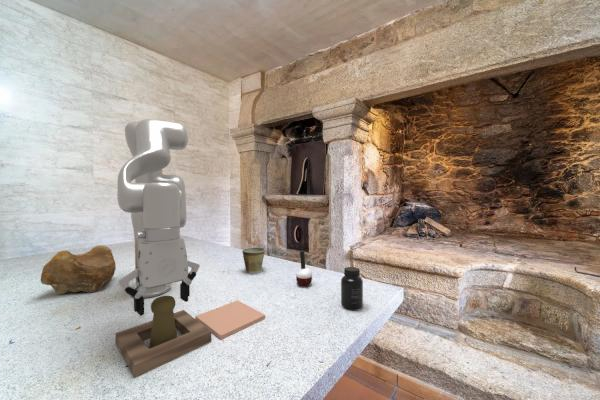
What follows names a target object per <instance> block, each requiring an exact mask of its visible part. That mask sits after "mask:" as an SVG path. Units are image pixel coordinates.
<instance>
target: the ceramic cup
mask: <svg viewBox="0 0 600 400" xmlns="http://www.w3.org/2000/svg"><path fill="white" fill-rule="evenodd" d="M265 253H266V249H265V248H263V247H257V246H256V247H255V246H251V247H246V248H243V249H242V257H243V260H244V261H243V262H244V269H245V272H246V273H247V274H249V275H256V274H259V273H261V272H262V269H263V268H262V267H263V262H264V257H265Z"/></svg>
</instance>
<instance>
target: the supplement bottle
mask: <svg viewBox="0 0 600 400" xmlns="http://www.w3.org/2000/svg"><path fill="white" fill-rule="evenodd" d="M343 269H344V271H343V275H344V276H342V277H341V279H340V280H341V281H340V287H341V288H340V304H341V307H343V309H345V310H349V311H359V310H361V309H362V308H363V305H364V304H363V303H364V299H363V297H364V293H363V291H364V289H363V288H364V284H363V283H364V281H363V279H362V277H361V275H360V268H359V267H354V266H348V267H347V266H346V267H345V268H343Z"/></svg>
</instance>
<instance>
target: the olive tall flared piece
mask: <svg viewBox="0 0 600 400" xmlns="http://www.w3.org/2000/svg"><path fill="white" fill-rule="evenodd" d="M175 307H176V299H175V297H174V296H172V295H160V296H158V297H156V298H154V299H153V300H152V302H151V303H150V310H151V313H153V315H152V320H153V322H152V330H151V337H150V338H149V347H148V348H149V349H150V348H153V347H155V346H158V345H160V344H162V343H165V342H167V341H170V340H172V339H175V338H177V337H178V332H177V328H176V325H175V319H174V313H175V312H174V309H175Z"/></svg>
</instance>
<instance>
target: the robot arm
mask: <svg viewBox="0 0 600 400" xmlns="http://www.w3.org/2000/svg"><path fill="white" fill-rule="evenodd" d="M124 136H125V141H126V145H127V147H128V149H129V151H130V153H131V156H132V157H130V159H128V160H127V161H125V163H124V164H123V165H122V167H121V168H120V170H119V172H118V175H117V192H116V193H117V194H116V195H117V196H116V197H117V198H116V199H117V204H118V207H119V208H120V210H122V211H123V212H124V213H129V214H130V218H131V224H132V228H133V236H134V237H133V238H134V265H135V268H134V270H132V271H131V272H129V273H128V274H126V275H124V276H123V277H121V278H120V279H119V280H118V284H119V286H120V287H121V288H122V289H123V291H124V292H125V293H126V294H128V295H130V297H132V298H133V311H134V313H137V314H138V315H139V316H140V317H142V316H144V315H145V298H153V297H157V296H158V297H159V296H162V295H163V294H165V293H167V292H168V291H170V290H171V289H172V284H173V283H177V282H181V283H180V284H179V291H180V293H179V295H180V297H179V299H180V300H182V301H183V302H189V297H190V295H191V292H190V291H191V290H190V288H191V287H190V285H191V284H192V281H193V280H194V279H195V278H196V276H197V273H198V271H199V269H200V264H199V263H197V262H193V261H190V260H188V253H187V247H186V243H185V240H184V238H183V237H181V233H180V232H181V231H180V230H181V229H182V228H184V227H185V226H186V224H187V201H186V199H187V198H186V186H185V182H184V179H183V178H182V177H181V176H179V175H177V174H164V173H163V169H165V168H167V167H168V166H169V165H170V163H171V158H172V157H171V152H170V150H171V151H182V150H185V148H187V145H188V143H189V136H188V131H187V129H186V127H185V125H183V124H181V123H180V122H175V121H167V120H161V119H153V118H145V119H142V120H140V121H131V122H127V124H126V125H125V128H124ZM132 181H134V182H132ZM189 267H190V268H191V269H190V271H189ZM133 280H135V287H131V285H130V282H131V281H133Z"/></svg>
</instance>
